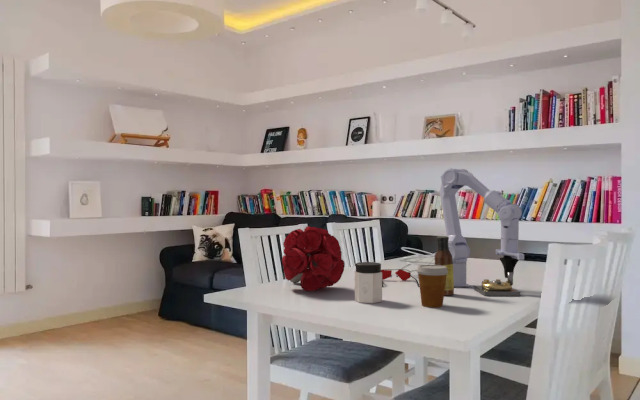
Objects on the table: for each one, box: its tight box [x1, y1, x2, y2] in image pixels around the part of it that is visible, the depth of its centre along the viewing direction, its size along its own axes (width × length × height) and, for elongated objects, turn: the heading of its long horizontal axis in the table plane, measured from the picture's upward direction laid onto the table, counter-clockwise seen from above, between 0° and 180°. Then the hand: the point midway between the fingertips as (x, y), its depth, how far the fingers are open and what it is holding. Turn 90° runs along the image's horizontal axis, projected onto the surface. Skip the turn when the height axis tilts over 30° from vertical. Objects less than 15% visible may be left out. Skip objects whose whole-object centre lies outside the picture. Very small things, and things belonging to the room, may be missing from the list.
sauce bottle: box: [433, 235, 455, 297], centre depth 176 cm, size 6×6×20 cm
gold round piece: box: [481, 272, 514, 291], centre depth 178 cm, size 10×10×6 cm
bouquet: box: [281, 225, 346, 292], centre depth 188 cm, size 22×24×30 cm
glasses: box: [381, 268, 420, 288], centre depth 198 cm, size 14×16×5 cm
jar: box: [354, 261, 383, 304], centre depth 165 cm, size 9×8×12 cm
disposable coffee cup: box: [415, 264, 448, 308], centre depth 158 cm, size 10×10×12 cm
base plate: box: [473, 285, 521, 297], centre depth 179 cm, size 12×12×2 cm
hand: (508, 278), depth 178 cm, fingers closed, pressing on gold round piece
